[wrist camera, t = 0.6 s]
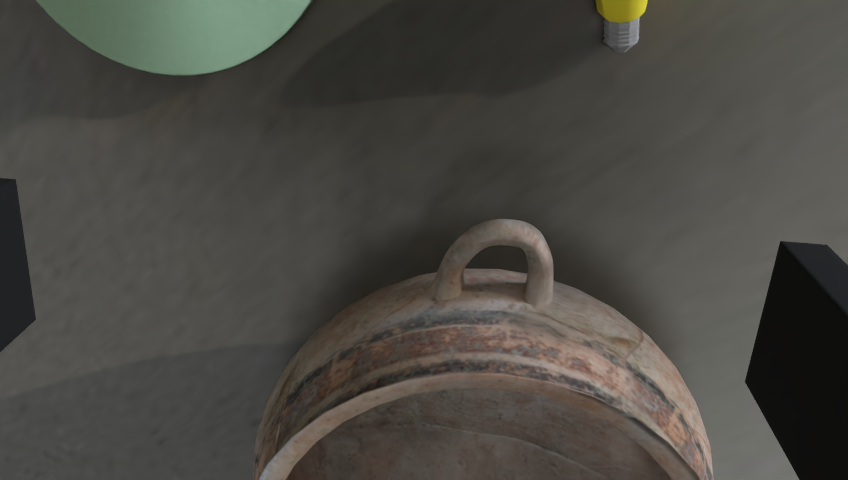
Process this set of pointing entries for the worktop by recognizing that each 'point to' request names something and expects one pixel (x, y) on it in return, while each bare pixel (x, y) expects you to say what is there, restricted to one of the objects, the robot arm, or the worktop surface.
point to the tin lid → (177, 30)
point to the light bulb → (621, 22)
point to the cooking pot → (481, 384)
